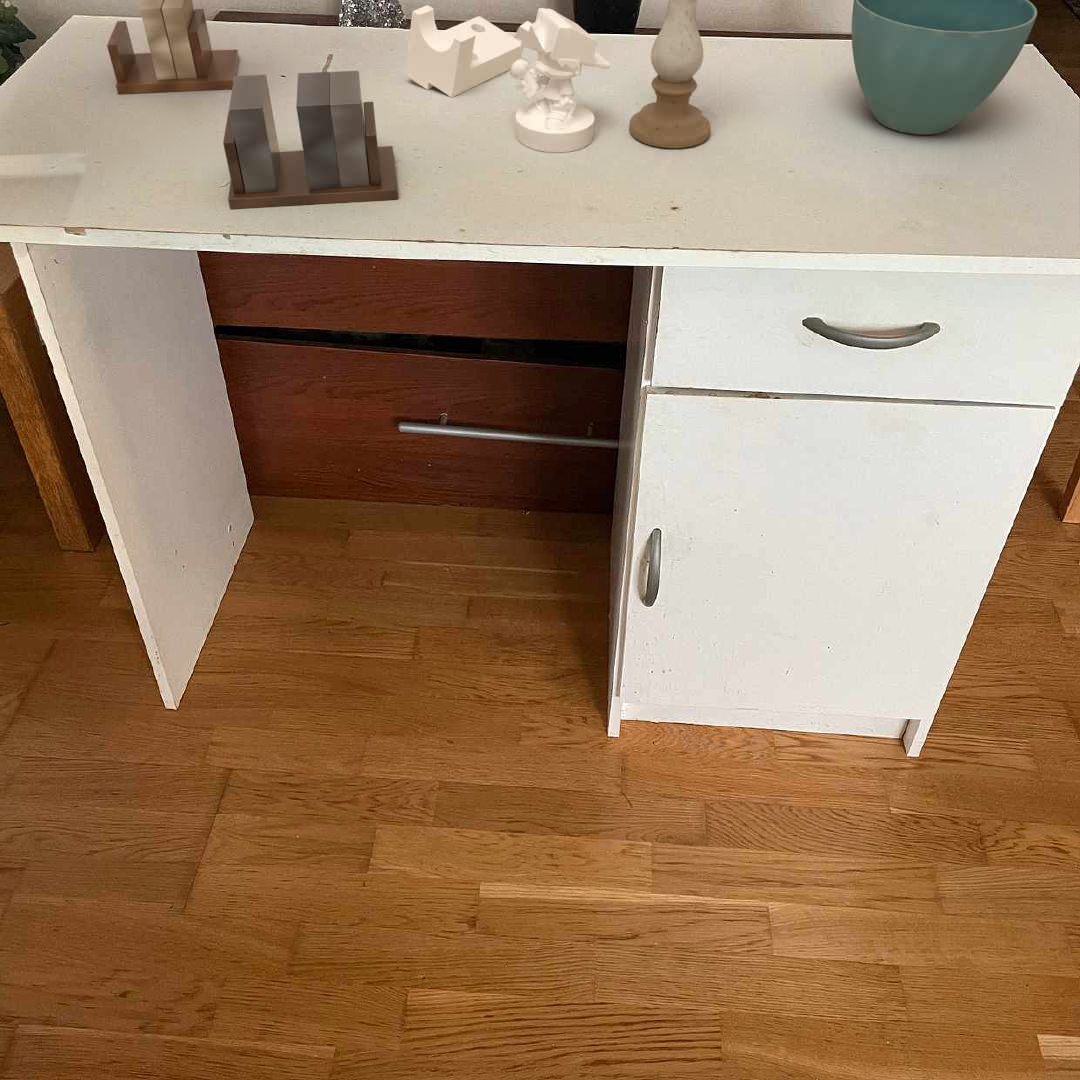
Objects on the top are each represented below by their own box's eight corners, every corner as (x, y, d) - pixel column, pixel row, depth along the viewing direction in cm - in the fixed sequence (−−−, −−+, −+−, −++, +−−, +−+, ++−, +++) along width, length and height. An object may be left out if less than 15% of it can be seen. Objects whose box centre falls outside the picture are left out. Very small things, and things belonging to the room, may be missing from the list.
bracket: (450, 105, 117) (460, 42, 111) (404, 74, 119) (412, 11, 113) (518, 71, 125) (531, 11, 119) (474, 43, 126) (485, -18, 120)
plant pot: (802, 125, 112) (825, 5, 103) (870, 76, 122) (896, -36, 114) (962, 170, 104) (1001, 45, 96) (1020, 114, 115) (1060, -3, 106)
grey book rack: (230, 209, 97) (209, 114, 90) (236, 163, 104) (217, 72, 97) (398, 199, 98) (389, 105, 92) (393, 155, 105) (385, 65, 99)
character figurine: (504, 124, 111) (502, 6, 103) (583, 113, 114) (588, -4, 105) (532, 157, 105) (533, 35, 97) (615, 144, 108) (623, 24, 100)
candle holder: (705, 117, 113) (732, -92, 99) (713, 150, 107) (742, -67, 93) (627, 115, 113) (642, -93, 99) (630, 148, 107) (647, -69, 93)
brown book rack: (118, 94, 116) (95, 13, 110) (129, 62, 123) (109, -16, 117) (233, 89, 118) (218, 9, 111) (239, 57, 125) (224, -19, 118)
